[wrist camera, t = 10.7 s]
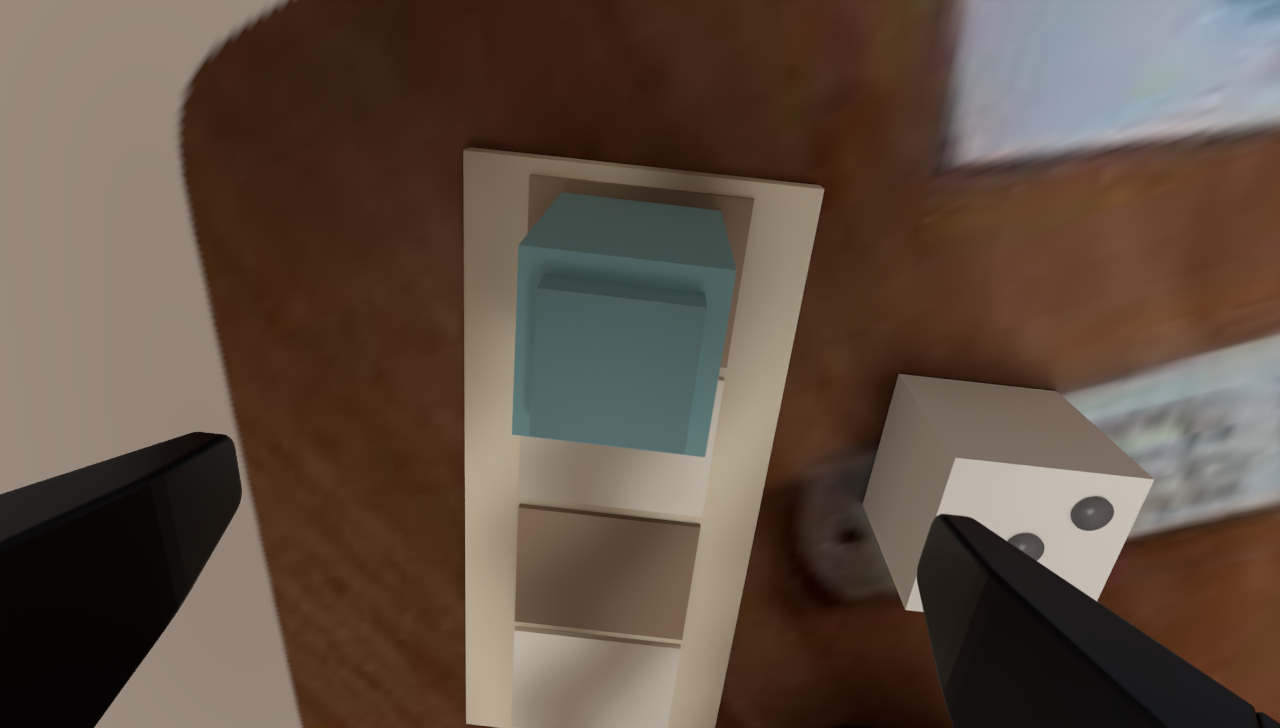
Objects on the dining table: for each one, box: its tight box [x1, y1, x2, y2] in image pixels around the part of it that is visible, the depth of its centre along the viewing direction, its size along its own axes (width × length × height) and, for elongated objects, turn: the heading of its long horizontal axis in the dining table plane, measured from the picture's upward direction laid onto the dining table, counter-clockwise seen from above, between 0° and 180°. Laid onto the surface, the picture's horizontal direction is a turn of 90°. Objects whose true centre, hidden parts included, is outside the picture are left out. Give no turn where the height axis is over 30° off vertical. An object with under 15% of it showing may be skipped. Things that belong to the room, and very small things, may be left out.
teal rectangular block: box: [512, 192, 737, 457], centre depth 16 cm, size 4×4×6 cm
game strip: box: [463, 147, 824, 728], centre depth 22 cm, size 9×20×1 cm, turn 174°
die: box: [863, 374, 1154, 612], centre depth 19 cm, size 4×4×5 cm
